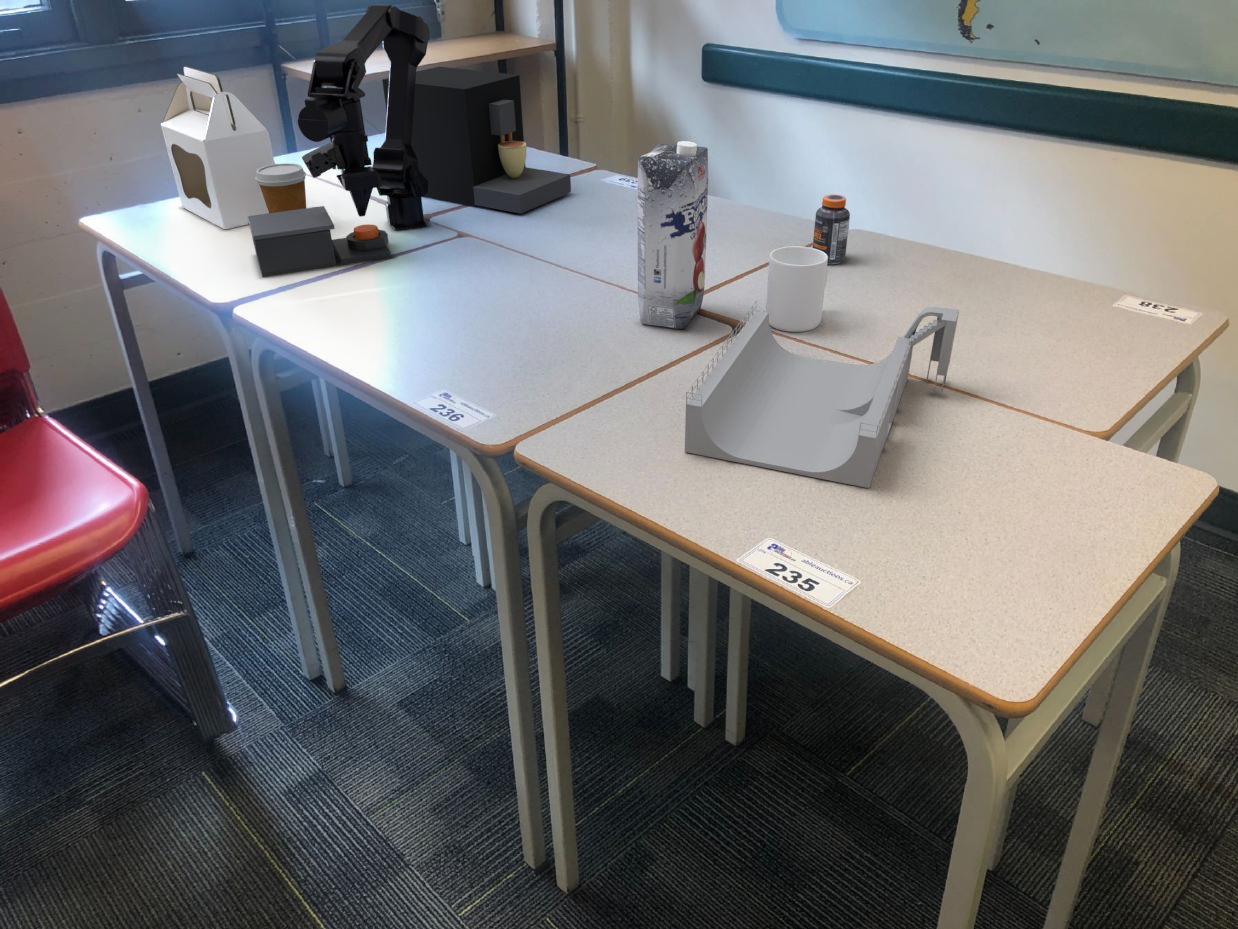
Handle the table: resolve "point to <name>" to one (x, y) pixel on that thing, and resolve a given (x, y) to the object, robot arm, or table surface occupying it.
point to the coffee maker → (476, 141)
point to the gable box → (215, 151)
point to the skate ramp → (805, 402)
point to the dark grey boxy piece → (295, 253)
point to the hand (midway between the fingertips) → (361, 215)
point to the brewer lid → (290, 222)
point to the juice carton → (672, 233)
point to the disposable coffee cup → (282, 187)
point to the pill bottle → (832, 228)
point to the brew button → (366, 232)
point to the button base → (361, 248)
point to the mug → (796, 288)
